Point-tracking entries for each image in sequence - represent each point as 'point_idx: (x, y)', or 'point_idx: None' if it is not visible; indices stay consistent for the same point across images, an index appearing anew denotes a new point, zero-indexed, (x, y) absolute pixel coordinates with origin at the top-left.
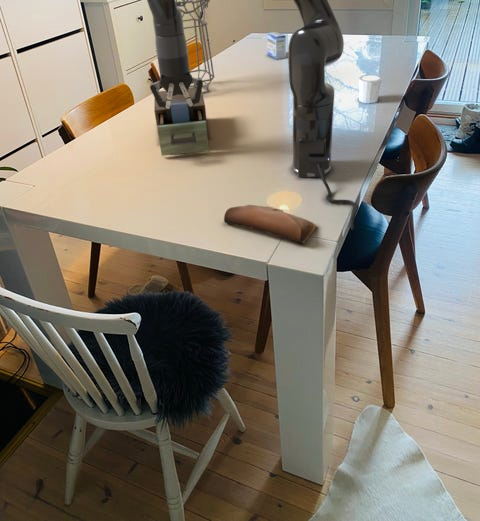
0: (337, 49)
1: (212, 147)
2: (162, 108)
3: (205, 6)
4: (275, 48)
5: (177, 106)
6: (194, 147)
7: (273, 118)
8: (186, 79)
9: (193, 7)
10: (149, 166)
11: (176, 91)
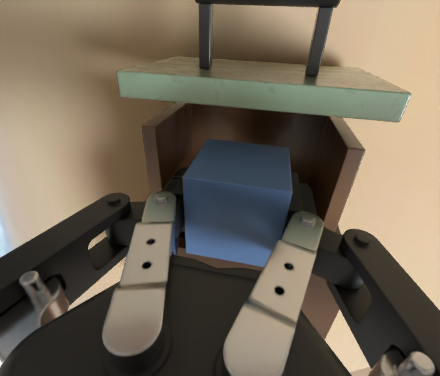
0: None
1: (167, 106)
2: (310, 282)
3: None
4: None
5: (244, 217)
6: (221, 61)
7: (29, 218)
8: (55, 374)
9: None
10: (436, 3)
11: (219, 288)
